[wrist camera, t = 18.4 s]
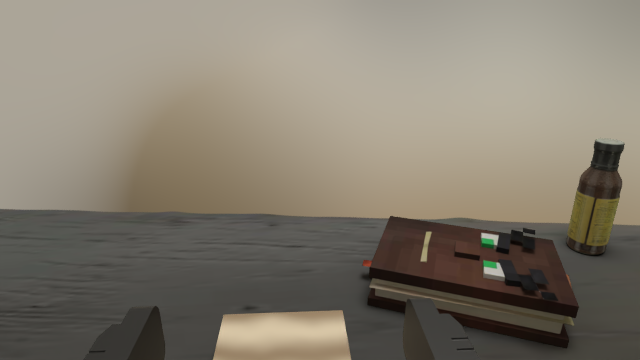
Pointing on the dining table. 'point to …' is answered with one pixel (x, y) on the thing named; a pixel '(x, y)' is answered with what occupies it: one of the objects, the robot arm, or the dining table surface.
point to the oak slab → (283, 336)
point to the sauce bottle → (596, 200)
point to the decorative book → (475, 278)
